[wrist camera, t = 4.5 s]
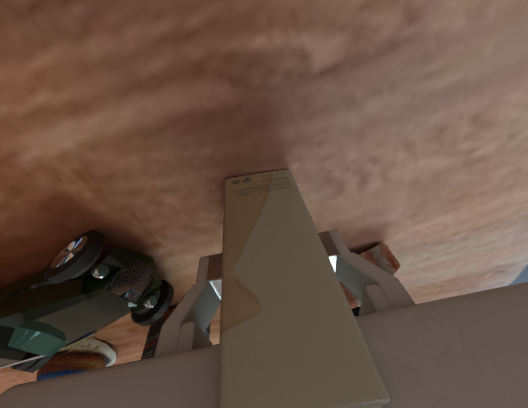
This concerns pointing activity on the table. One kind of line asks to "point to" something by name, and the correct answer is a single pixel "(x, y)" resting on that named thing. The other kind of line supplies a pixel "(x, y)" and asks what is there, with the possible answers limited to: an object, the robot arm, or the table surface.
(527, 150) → the table surface
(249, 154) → the table surface
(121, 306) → the toy car
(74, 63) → the table surface
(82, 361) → the dessert
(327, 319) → the box
